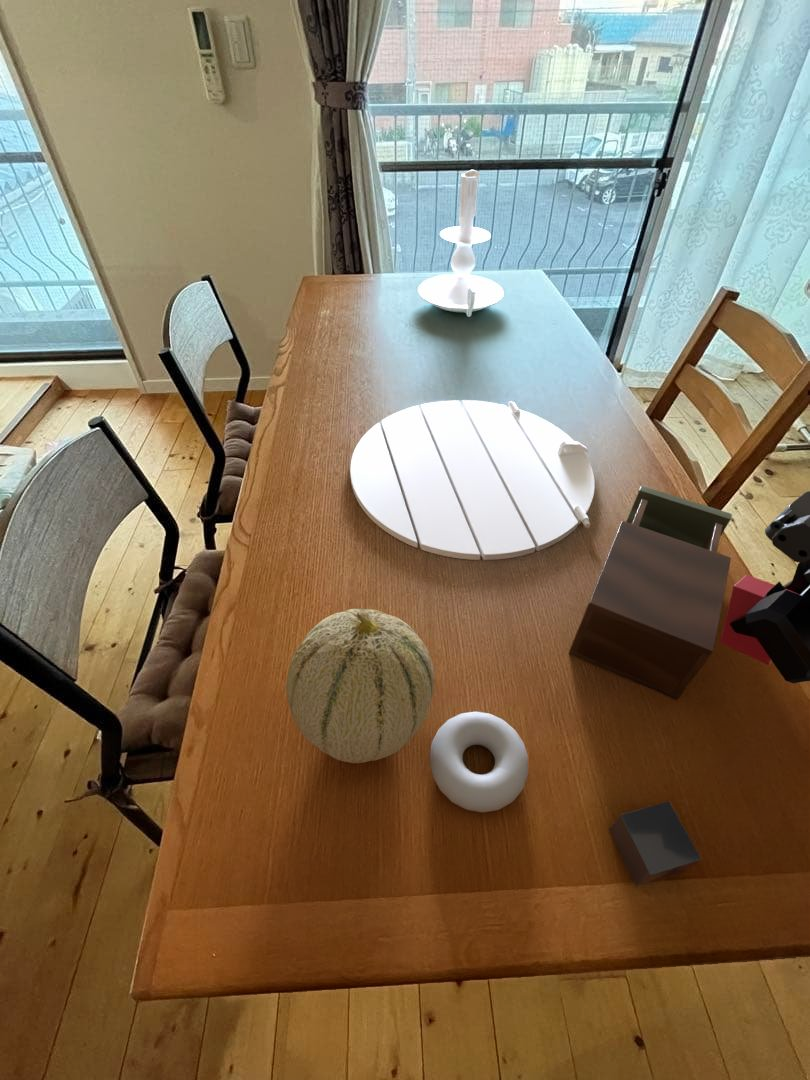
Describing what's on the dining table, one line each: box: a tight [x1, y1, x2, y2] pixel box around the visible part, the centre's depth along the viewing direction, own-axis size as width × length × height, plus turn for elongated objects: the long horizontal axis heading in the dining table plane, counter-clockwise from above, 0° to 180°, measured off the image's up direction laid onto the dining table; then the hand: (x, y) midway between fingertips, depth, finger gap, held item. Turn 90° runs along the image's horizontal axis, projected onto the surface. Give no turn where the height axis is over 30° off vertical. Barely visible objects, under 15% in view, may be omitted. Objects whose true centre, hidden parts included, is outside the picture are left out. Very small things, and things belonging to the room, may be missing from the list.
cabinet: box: [568, 520, 732, 701], centre depth 65 cm, size 15×13×10 cm
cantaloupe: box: [285, 608, 435, 764], centre depth 55 cm, size 15×15×15 cm
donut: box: [429, 711, 529, 814], centre depth 56 cm, size 10×4×10 cm
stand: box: [608, 800, 702, 887], centre depth 50 cm, size 5×5×4 cm
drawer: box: [625, 484, 733, 553], centre depth 73 cm, size 18×11×8 cm, turn 151°
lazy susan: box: [349, 399, 596, 561], centre depth 89 cm, size 40×39×3 cm
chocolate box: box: [719, 574, 798, 666], centre depth 52 cm, size 4×3×7 cm, turn 40°
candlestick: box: [417, 169, 505, 317], centre depth 124 cm, size 21×25×28 cm
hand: (740, 620), depth 54 cm, fingers closed on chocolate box, 2 cm apart
